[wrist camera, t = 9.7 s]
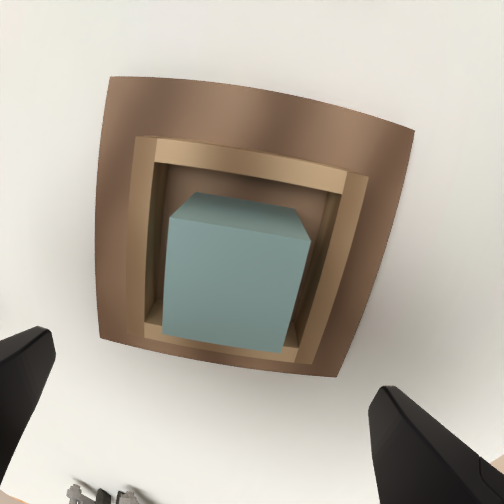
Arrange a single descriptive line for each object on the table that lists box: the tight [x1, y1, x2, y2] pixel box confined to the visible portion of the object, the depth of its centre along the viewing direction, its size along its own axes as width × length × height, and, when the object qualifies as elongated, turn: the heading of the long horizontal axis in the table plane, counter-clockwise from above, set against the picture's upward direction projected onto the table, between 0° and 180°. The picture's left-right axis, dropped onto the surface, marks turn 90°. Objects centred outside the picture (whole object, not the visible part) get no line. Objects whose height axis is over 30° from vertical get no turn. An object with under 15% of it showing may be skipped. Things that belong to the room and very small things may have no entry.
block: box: [162, 192, 311, 353], centre depth 14 cm, size 5×5×5 cm
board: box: [95, 77, 415, 377], centre depth 16 cm, size 16×16×4 cm
